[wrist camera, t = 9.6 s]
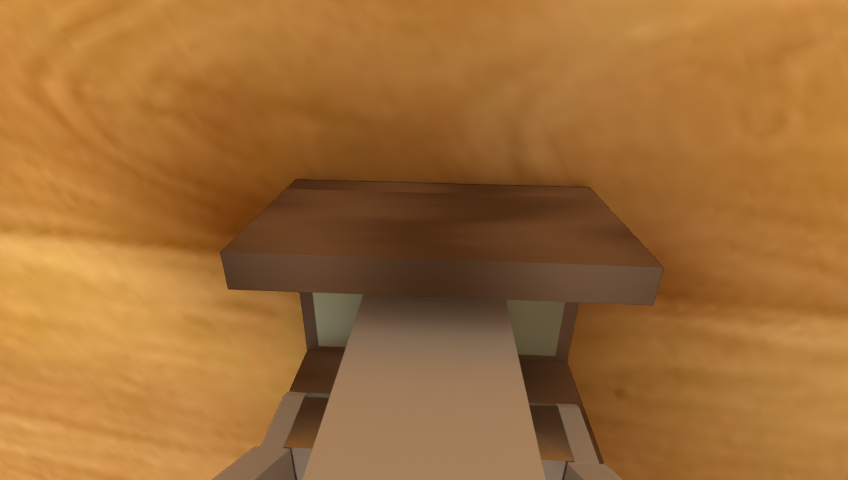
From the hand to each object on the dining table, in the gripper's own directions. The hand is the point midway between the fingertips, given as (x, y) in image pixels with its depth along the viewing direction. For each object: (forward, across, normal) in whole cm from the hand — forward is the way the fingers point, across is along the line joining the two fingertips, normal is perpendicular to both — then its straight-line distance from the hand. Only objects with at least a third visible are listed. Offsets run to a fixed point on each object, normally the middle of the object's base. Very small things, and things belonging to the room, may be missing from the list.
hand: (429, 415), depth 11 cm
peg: (+5, 0, 0) cm, 5 cm away
